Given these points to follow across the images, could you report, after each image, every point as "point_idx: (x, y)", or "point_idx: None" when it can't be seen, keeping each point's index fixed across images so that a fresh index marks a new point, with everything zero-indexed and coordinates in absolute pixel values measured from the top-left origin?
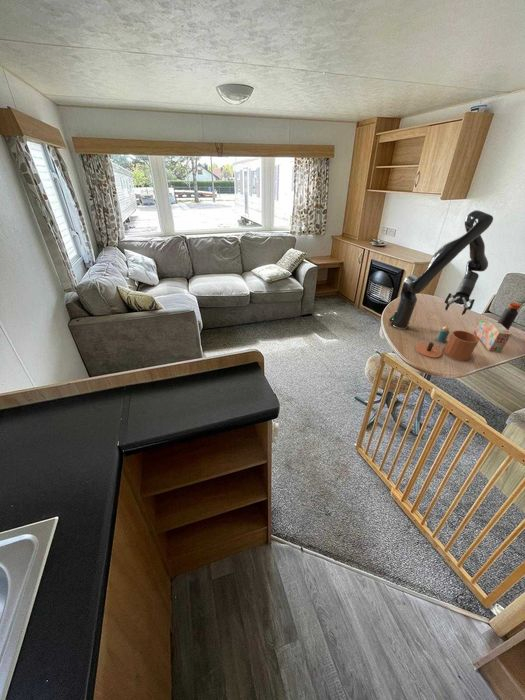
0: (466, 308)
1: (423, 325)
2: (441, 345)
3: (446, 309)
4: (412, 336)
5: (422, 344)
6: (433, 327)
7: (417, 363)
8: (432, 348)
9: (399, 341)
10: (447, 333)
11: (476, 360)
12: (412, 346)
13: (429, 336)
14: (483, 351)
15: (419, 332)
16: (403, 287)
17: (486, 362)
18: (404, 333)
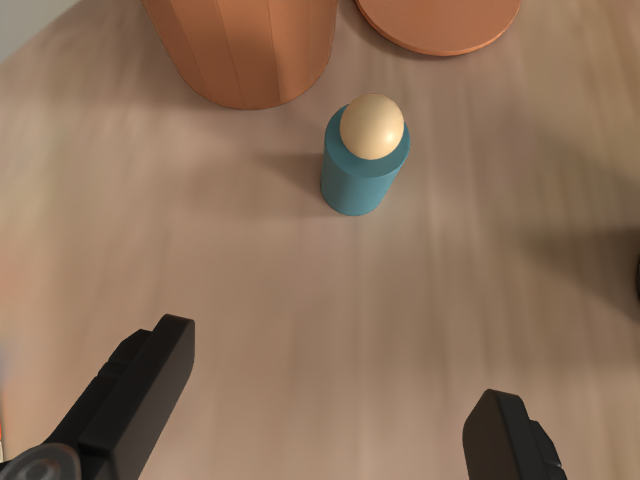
0: (57, 454)
1: None
2: None
3: (500, 394)
4: (562, 150)
5: (484, 30)
6: (418, 437)
7: None
8: (414, 8)
9: (626, 33)
10: (342, 110)
11: (124, 22)
12: (534, 8)
13: (439, 219)
14: (35, 174)
15: (523, 251)
16: None
17: (60, 26)
18: (627, 170)
